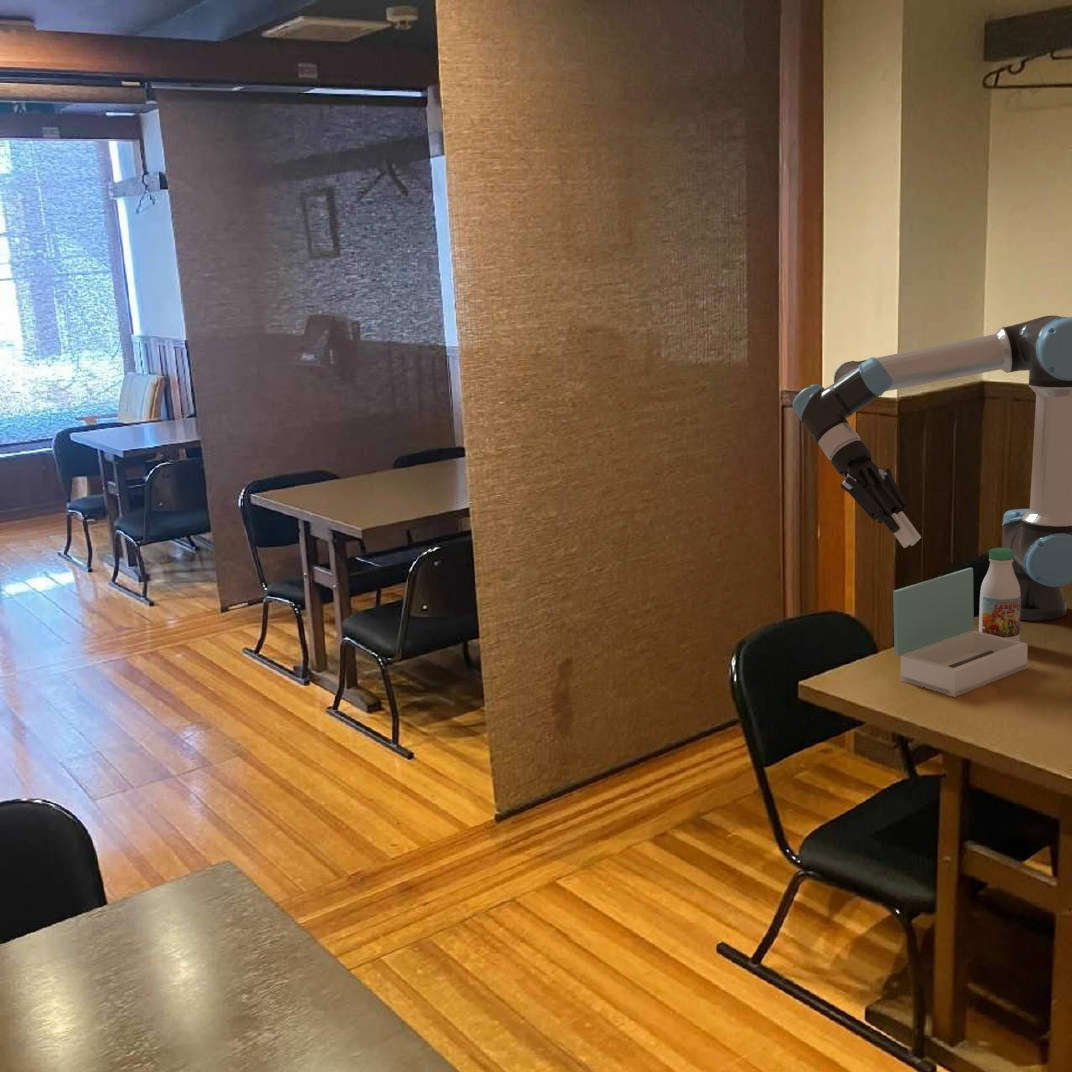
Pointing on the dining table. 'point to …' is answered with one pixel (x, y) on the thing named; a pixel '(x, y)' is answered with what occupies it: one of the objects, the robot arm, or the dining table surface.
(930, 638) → the cover
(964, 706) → the dining table surface
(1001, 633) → the milk bottle
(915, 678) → the white shallow box
